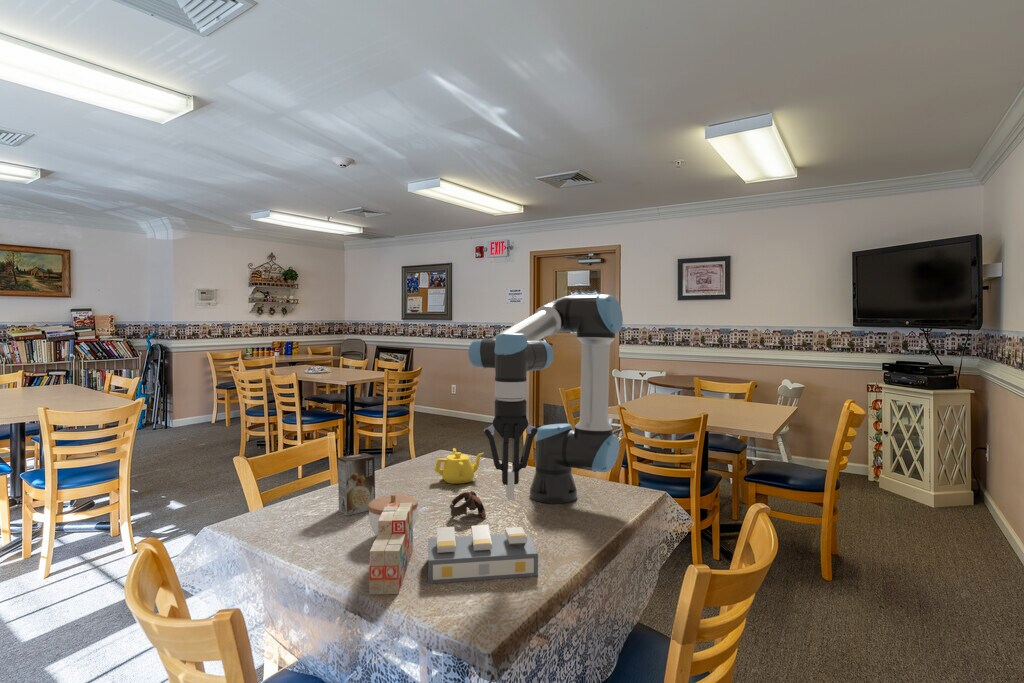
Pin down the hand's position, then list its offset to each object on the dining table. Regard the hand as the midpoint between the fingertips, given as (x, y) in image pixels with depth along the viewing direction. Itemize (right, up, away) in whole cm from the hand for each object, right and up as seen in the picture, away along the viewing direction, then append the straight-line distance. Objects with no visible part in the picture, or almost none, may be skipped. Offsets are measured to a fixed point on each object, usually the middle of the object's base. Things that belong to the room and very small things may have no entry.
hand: (510, 497), depth 127 cm
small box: (+1, -8, -3) cm, 9 cm away
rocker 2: (-7, -8, -5) cm, 11 cm away
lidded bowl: (-31, -14, +13) cm, 36 cm away
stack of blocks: (-26, -15, -6) cm, 31 cm away
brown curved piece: (-12, -14, +28) cm, 33 cm away
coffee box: (-46, -13, +33) cm, 58 cm away
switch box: (-7, -15, -4) cm, 17 cm away
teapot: (-18, -13, +64) cm, 68 cm away
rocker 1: (-14, -8, -6) cm, 18 cm away
